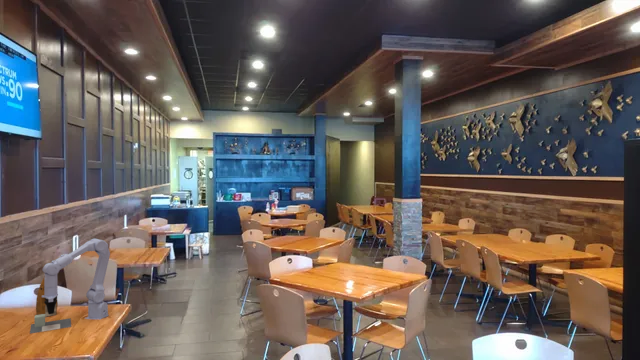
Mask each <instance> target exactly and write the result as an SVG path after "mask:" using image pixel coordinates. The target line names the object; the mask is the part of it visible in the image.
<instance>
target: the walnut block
mask: <svg viewBox="0 0 640 360" xmlns="http://www.w3.org/2000/svg"><path fill="white" fill-rule="evenodd" d="M45 316H48V317H51V316H52V317H53V316H57V314H56V305H55V308H54V313H53V314H48V310H47V306H46V307H45Z"/></svg>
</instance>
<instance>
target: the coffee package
mask: <svg viewBox="0 0 640 360" xmlns="http://www.w3.org/2000/svg"><path fill="white" fill-rule="evenodd" d="M44 278H45V275H44V276H43V278H42V280H41V283H40V285H39V287H38V291H37V295H36V300H35V314H36V315H41V314H45V307H46V304H45V303H44V301H46V300H45V298H44V297H43V298H42V295H44ZM56 300H57V303H56V315H57V314H58V312H57V310H58V305H59V304H58V298H57V299H56ZM48 317H49V316H45V318H48Z"/></svg>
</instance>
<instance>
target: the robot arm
mask: <svg viewBox="0 0 640 360" xmlns="http://www.w3.org/2000/svg"><path fill="white" fill-rule="evenodd" d="M86 252H95V253H96V254H97V255H98V260H97V264H96V266H95V267H96V268H95V271H94V272H95V273H94V276H93V281H92V284H90V285H89V289H88V290H87V292H86V294H85V296H86V298H87V299H88V301H87V303H88V305H87V310H88V311H87V313H88V314H87V316H86V317H84V319H85V320H102V319H105V318H107V317H108V316H109V305H108V303H107V302H105V301H104V300H105V297H106V296H105V287H104V282H105V277H106V273H107V269H108V265H109V260H110V258H111V257H110V256H111V252H110V249H109V244H108V243H107V241H106V240H104V239H98V238H96V237H95V238H92V239H89V240H87V241H86V242H85V243H83V244H82V245H81V246H79V247H77V248H76V249H75V250H72V251H71V252H69V254H68V253H64V254H61V255H60V256H59V257H58V258H55V260H51V262H47V263H46V264H44V266H43V267H42V270H41V271H42V272H43V273H44V276H45V278H44V277H43V278H44V295H42V298H43V297H44V298H45V300H46V301H44V303H45V304H46V306H47V310H48V314H53V313H54V308H55V305H56V303H57V302H58V295H59V294H58V274H59V272H60V270H62V269H64V268H65V267H67V266H68V265H70V264H72V262H73V260H74V259H76V258H78V257H79V256H81V255H83V254H85V253H86ZM56 299H57V300H56Z"/></svg>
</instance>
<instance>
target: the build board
mask: <svg viewBox="0 0 640 360" xmlns="http://www.w3.org/2000/svg"><path fill="white" fill-rule="evenodd" d="M71 327H72V319H71V318H65V319H64V318H63V319H57V320H51V321H45V326H41V327H35V323H31V324H30V330H29V334H31V335H32V334H36V333H43V332H49V331H55V330H62V329H66V328H67V329H68V328H71Z"/></svg>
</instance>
